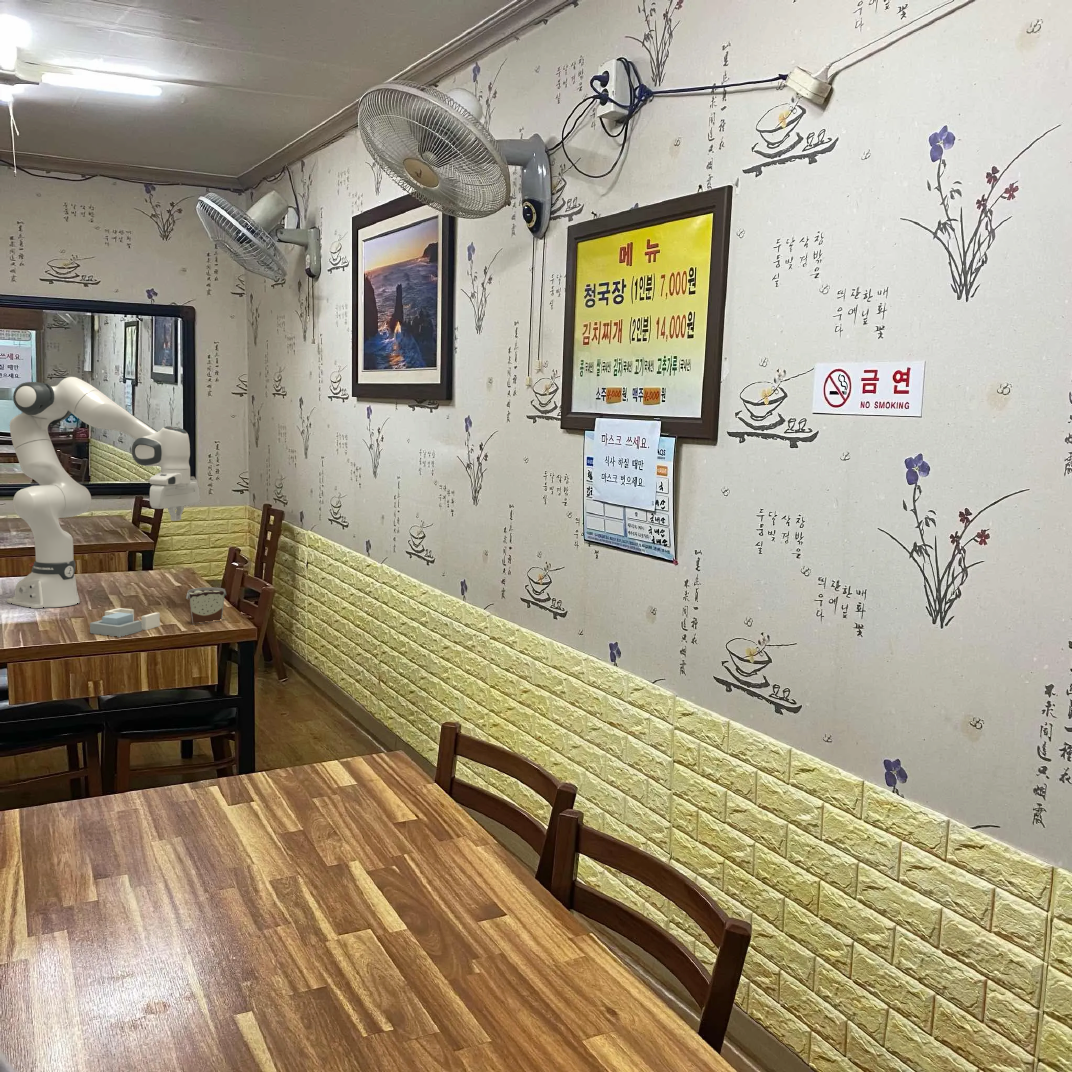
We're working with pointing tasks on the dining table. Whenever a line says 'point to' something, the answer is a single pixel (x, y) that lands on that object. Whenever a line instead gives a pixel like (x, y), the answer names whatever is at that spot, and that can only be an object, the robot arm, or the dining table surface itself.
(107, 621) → the block
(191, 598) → the food container
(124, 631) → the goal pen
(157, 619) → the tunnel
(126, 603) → the dining table surface
